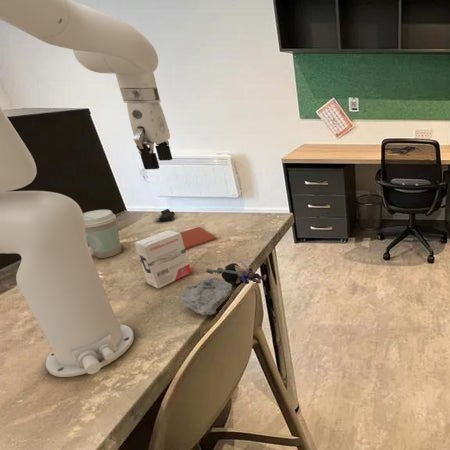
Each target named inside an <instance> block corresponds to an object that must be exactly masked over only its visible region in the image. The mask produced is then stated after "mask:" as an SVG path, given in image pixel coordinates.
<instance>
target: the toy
mask: <svg viewBox="0 0 450 450" xmlns="http://www.w3.org/2000/svg"><path fill="white" fill-rule="evenodd" d="M238 263H239V264H241V265H239V264H238ZM238 263H235V262H232V263H229V264H227V265H226V266H224V268H223V267H217V269H213V268H212V269H210V268H206V270H205V272H206V273H208V274H210V275H213V274H215V273H217V274H219V275H221V276H222V277H221V278H222V279H223V281H226V282H227V283H235V284H239V283H241V281H242V282H243V283H244V284H245V285H246V284H247V285H249V284H250V282H252V283H253V282H256V283H255V284H258V285H260V284H261V283H262V281H266V279H267V274H264V275H261V274H259V273H258V272H254V270H253V269H252V268H251V267H249V266H248V265H247V264H246V263H245V262H243V260H240V261H238Z"/></svg>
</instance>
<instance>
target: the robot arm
mask: <svg viewBox="0 0 450 450" xmlns="http://www.w3.org/2000/svg"><path fill="white" fill-rule="evenodd" d="M0 20H1V21H3V22H5V23H7V24H9V25H11V26H13V27H15V28H17V29H18V30H20V31H23V32H24V33H26V34H27V35H30V36H32V37H34V38H35V39H37V40H39V41H41V42H43V43H46V44H49V45H52V46H55V47H59V48H64V49H69V50H72V52H73V55H74V57H75V59H76V60H77V61H78V63H79V64H80V65H81V66H83V67H84V68H85V69H87V70H89V71H91V72H94V73H99V74H114V75H115V77H116V81H117V84H118V87H119V92H120V94H121V97H122V101H123V103H125V104H126V107H127V113H128V118H129V122H130V127H131V131H132V135H133V141H134V143H135V145H136V148H137V150H138V154H139V155H140V158H141V162H142V166H143V168H144V170H159V169H160V165H159V161H172V160H173V156H172V151H171V147H170V142H169V139H170V138H171V133H170V129H169V126H168V122H167V119H166V117H165V114H164V110H163V108H162V105H161V97H160V93H159V89H158V86H157V82H156V78H155V73H154V72H155V71H156V70H157V69H158V67H159V56H158V53H157V51H156V49H155V47H154V45H153V44H152V42H150V41H149V39H148V38H147V37H146V36H145V35H144V34H143V33H141V32H140V30H138V29H137V28H135V27H134V26H133V25H131V24H130V23H128V22H126V21H124V20H122V19H121V18H118V17H115V16H113V15H110V14H108V13H106V12H102V11H100V10H98V9H95V8H92V7H90V6H88V5H85V4H82V3H79V2H76V1H73V0H0ZM155 150H156V152H154V151H155ZM158 160H159V161H158ZM37 172H38V171H37V165H36V162H35V159H34V157H33V155H32V153H31V152H30V150H29V149H28V147H27V146H26V143H25V142H24V141H23V140H22V138H21V136H20V135H19V133H18V132H17V130H16V129H15V127H14V125H13V124H12V123H11V121H10V119H9V118H8V116H7V115H6V113H5V111H4V110H3V108H2V106H0V254H18V255H19V256H20V257H21V259H20V260H21V261H20V264H19V267H18V268H17V271H16V275H15V279H16V285H17V288H18V290H19V292H20V293H21V295H22V297H23V299H24V300H25V303H26V305H27V306H28V308H29V310H30V312H31V314H32V316H33V317H34V320H35V321H36V324H37V325H38V327H39V329H40V331H41V333H42V334H43V337H44V339H45V340H46V342H47V344H48V346H49V348H50V350H51V352H50V354H49V355H48V356H47V358H46V360H45V367H46V368H45V369H46V370H47V372H48V373H49V374H50V375H52V376H54V377H59V378H70V377H78V376H81V375H85V374H88V375H94V374H96V373H97V372H99V371H100V370H101V368H104V367H106V366H107V365H109V364H111V363H112V362H114V361H116V360H117V359H119V358H120V357H122V355H123V354H125V353H126V351H127V350H129V348H130V347H131V346H132V345H133V342H134V339H135V333H134V331H133V329H132V327H130V326H128V325H126V324H123V323H119V322H118V319H117V316H116V314H115V312H114V309H113V307H112V305H111V302H110V299H109V297H108V295H107V292H106V289H105V287H104V285H103V282H102V279H101V277H100V275H99V272H98V269H97V267H96V265H95V262H94V259H93V257H92V254H91V251H90V248H89V247H90V246H89V243H88V242H87V239H86V232H85V222H84V216H83V213H84V212H83V210H82V208H81V207H80V205H79V203H77V202H76V201H75V200H74V199H72V198H71V197H69V196H67V195H65V194H62V193H59V192H54V191H46V190H18V189H22V188H25V187H27V186H28V185H30V184H31V183H33V181H34V180H35V178H36V176H37Z"/></svg>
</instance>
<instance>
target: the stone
mask: <svg viewBox="0 0 450 450" xmlns="http://www.w3.org/2000/svg"><path fill="white" fill-rule="evenodd" d="M232 290H233V285H232V284H231V282H226V281H225V280H221V279H219V278H217V277H213V276H212V277H210V278H206V279H204V280H202V281H200V282H198V283H197V284H194V285H189V286H187V287H185V288H184V290H183V291H182V294H180V300H181V302H182V304H183V305H184V306H186V307H187V308H189V309H190V310H192V311H193V312H195V313H196V314H200V315H202V316H207V315H208V316H212V315H215V314H216V313H217V310H218V308H219V307H220V306H221V305H222V304H223V303H224V302H225V301H226V300H227V298H228V297H229V296H230V295H231V293H232Z"/></svg>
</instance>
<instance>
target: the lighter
mask: <svg viewBox="0 0 450 450" xmlns="http://www.w3.org/2000/svg"><path fill="white" fill-rule="evenodd" d="M160 213H161V215H160V216H159V217H157V218H156V222H160V223H163V222H166V221H170V220H172V219H174V217H175V216H176V214H175V212H174V211H171V209H169V208H165V209H164V210H161V211H160Z"/></svg>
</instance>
